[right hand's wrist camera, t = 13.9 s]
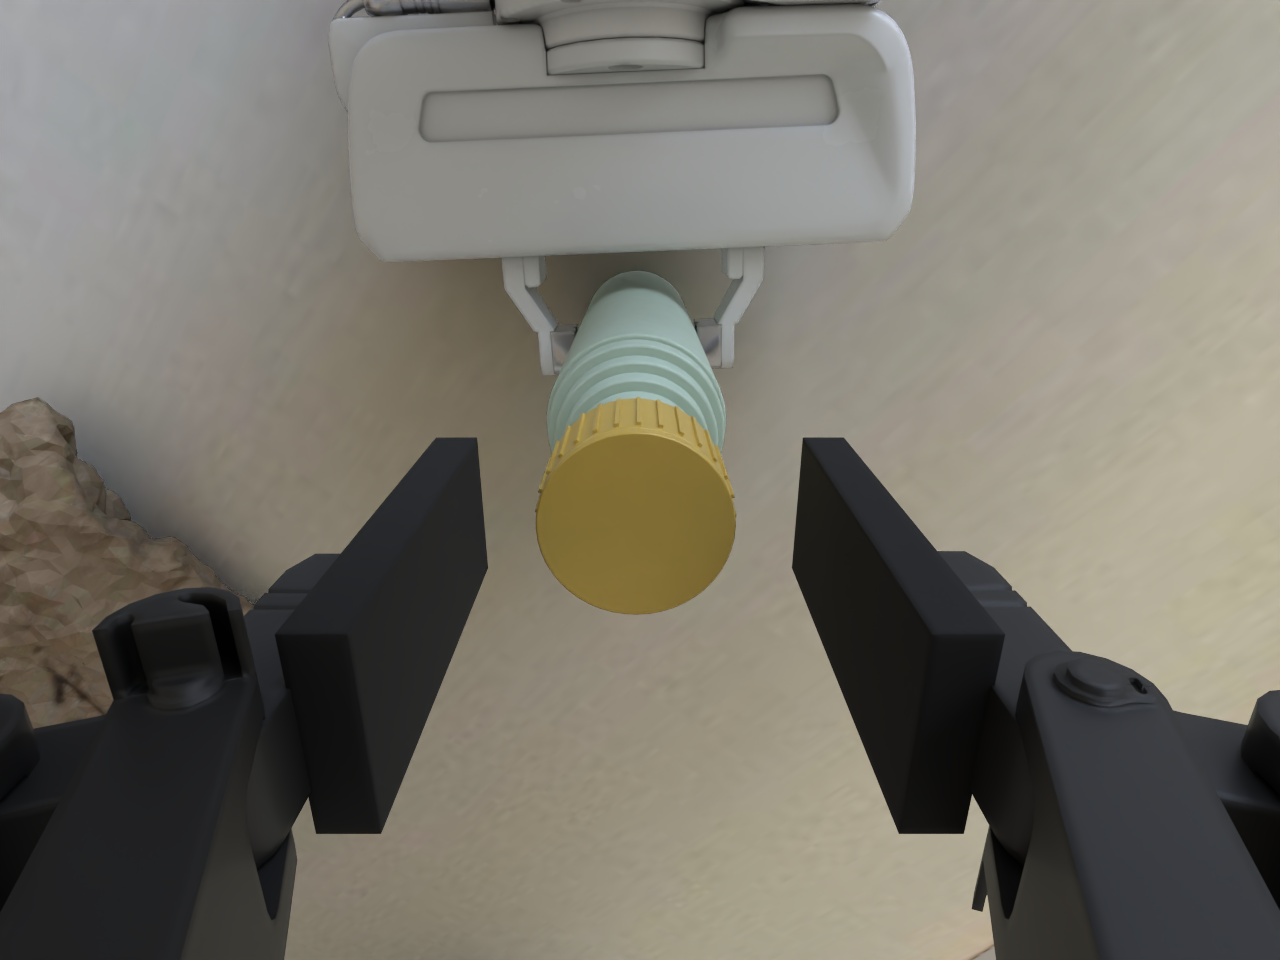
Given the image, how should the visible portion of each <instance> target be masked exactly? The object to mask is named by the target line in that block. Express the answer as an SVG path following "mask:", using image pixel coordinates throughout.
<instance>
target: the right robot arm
mask: <svg viewBox="0 0 1280 960" xmlns="http://www.w3.org/2000/svg"><path fill="white" fill-rule="evenodd" d="M487 569H488V563H487V551H486V539H485V527H484V515H483V504H482V492H481V480H480V468H479V456H478V444H477V438H436V439H435V440H434V441H433V442H432V444H431V445H430V446H429V447H428V448H427V450H426V451H425V452H424V453H423V454H422V456H421V457H420V458H419V459H418V461H417V462H416V463H415V464H414V465H413V467H412V468H411V469H410V470H409V471H408V473H407V474H406V475H405V476H404V478H403V479H402V480H401V481H400V482H399V484H398V485H397V486H396V487H395V488H394V490H393V491H392V492H391V493H390V495H389V496H388V497H387V498H386V499H385V501H384V502H383V503H382V504H381V506H380V507H379V508H378V509H377V510H376V512H375V513H374V514H373V515H372V516H371V518H370V519H369V520H368V521H367V523H366V524H365V525H364V526H363V527H362V529H361V530H360V531H359V532H358V533H357V535H356V536H355V537H354V538H353V540H352V541H351V542H350V543H349V544H348V546H347V547H346V548H345V549H344V551H343V552H342V553H341V554H314V555H313V556H311V557H309V558H307V559H306V560H304V561H302V562H300V563H299V564H297V565H295V566H293V567H291V568H290V569H288V570H286V571H285V572H284V574H283V575H282V576H281V577H280V578H279V579H278V580H277V581H276V582H275V583H274V584H273V585H272V586H271V588H270V589H269V593H265V594H264V595H263V596H262V597H261V598H260V599H259V600H258V602H257V603H256V604H255V605H254V609H253V610H249V611H248V612H247V613H246V614H245V615H243V611H242V606H241V602H240V598H239V597H238V596H236V595H235V594H233V593H232V592H230V591H229V590H224V589H218V588H212V587H200V588H183V589H178V590H174V591H169V592H164V593H159V594H155V595H153V596H150V597H147V598H144V599H141V600H139V601H136V602H133V603H130V604H128V605H126V606H125V607H123V608H121V609H119V610H117V611H116V612H114V613H112V614H110V615H108V616H107V617H106V618H104V619H103V620H102V621H101V622H100V623H99V624H98V625H97V626H96V627H95V628H94V629H93V630H92V633H93V636H94V639H95V642H96V645H97V649H98V652H99V655H100V658H101V661H102V665H103V668H104V671H105V674H106V677H107V681H108V684H109V687H110V690H111V693H112V697H113V702H112V704H111V706H110V708H109V709H108V711H107V713H106V714H105V715H101V716H97V717H91V718H86V719H81V720H76V721H71V722H65V723H60V724H55V725H50V726H45V727H39V728H34V729H33V726H32V724H31V721H30V718H29V716H28V713H27V710H26V707H25V705H24V702H22V701H21V700H19V699H18V698H16V697H15V696H13V695H11V694H0V960H284V956H285V949H286V941H287V933H288V926H289V918H290V911H291V903H292V896H293V888H294V880H295V873H296V865H297V855H296V849H295V843H294V838H293V834H292V829H291V827H292V826H293V824H294V822H295V820H296V818H297V816H298V815H299V813H300V811H301V809H302V807H303V805H304V804H305V802H306V800H307V798H308V797H309V801H310V806H311V811H312V816H313V821H314V825H315V830H316V834H381V832H382V830H383V827H384V825H385V822H386V820H387V817H388V815H389V812H390V810H391V808H392V805H393V803H394V800H395V798H396V795H397V793H398V790H399V788H400V785H401V783H402V780H403V778H404V775H405V773H406V770H407V768H408V765H409V763H410V760H411V758H412V755H413V753H414V750H415V748H416V745H417V743H418V740H419V738H420V735H421V733H422V730H423V728H424V726H425V723H426V721H427V718H428V716H429V713H430V711H431V708H432V706H433V703H434V701H435V698H436V696H437V693H438V691H439V688H440V686H441V683H442V681H443V678H444V676H445V673H446V671H447V668H448V666H449V663H450V661H451V658H452V656H453V653H454V651H455V648H456V646H457V644H458V641H459V639H460V636H461V634H462V631H463V629H464V626H465V624H466V621H467V619H468V616H469V614H470V611H471V609H472V606H473V604H474V601H475V599H476V596H477V594H478V591H479V589H480V586H481V584H482V581H483V579H484V576H485V574H486V571H487ZM792 569H793V571H794V574H795V576H796V579H797V581H798V584H799V586H800V589H801V591H802V594H803V596H804V599H805V601H806V604H807V606H808V609H809V611H810V614H811V616H812V619H813V621H814V624H815V626H816V629H817V631H818V634H819V636H820V639H821V641H822V644H823V646H824V648H825V651H826V653H827V656H828V658H829V661H830V663H831V666H832V668H833V671H834V673H835V676H836V678H837V681H838V683H839V686H840V688H841V691H842V693H843V696H844V698H845V701H846V703H847V706H848V708H849V711H850V713H851V716H852V718H853V721H854V723H855V726H856V728H857V730H858V733H859V735H860V738H861V740H862V743H863V745H864V748H865V750H866V753H867V755H868V758H869V760H870V763H871V765H872V768H873V770H874V773H875V775H876V778H877V780H878V783H879V785H880V788H881V790H882V793H883V795H884V798H885V800H886V803H887V805H888V808H889V810H890V813H891V815H892V817H893V820H894V822H895V825H896V827H897V830H898V832H899V834H964V830H965V825H966V821H967V816H968V811H969V806H970V801H971V797H972V794H973V796H974V798H975V800H976V802H977V803H978V805H979V807H980V809H981V811H982V812H983V814H984V816H985V818H986V820H987V822H988V823H989V829H988V834H987V838H986V843H985V847H984V852H983V856H982V861H981V865H980V870H979V874H978V878H977V883H976V887H975V892H974V898H973V904H972V909H974V910H978V911H983V907H984V903H985V898H986V895H988V901H989V909H990V916H991V924H992V931H993V939H994V947H995V954H996V960H1280V690H1276V691H1269V692H1267V693H1266V694H1264V695H1263V696H1261V697H1260V698H1258V699H1257V702H1256V705H1255V707H1254V710H1253V713H1252V716H1251V718H1250V721H1249V724H1248V725H1243V724H1238V723H1233V722H1228V721H1222V720H1217V719H1212V718H1207V717H1202V716H1196V715H1191V714H1186V713H1181V712H1177V711H1173V710H1172V708H1171V706H1170V704H1169V702H1168V701H1167V699H1166V698H1165V697H1164V695H1163V694H1162V693H1161V692H1160V691H1159V690H1158V688H1157V687H1156V686H1155V685H1154V684H1153V683H1152V682H1150V681H1149V680H1147V679H1146V678H1144V677H1143V676H1141V675H1140V674H1138V673H1137V672H1135V671H1134V670H1132V669H1130V668H1127V667H1125V666H1123V665H1120V664H1118V663H1116V662H1113V661H1111V660H1109V659H1106V658H1102V657H1098V656H1094V655H1090V654H1086V653H1082V652H1072V650H1071V649H1070V648H1069V647H1068V646H1067V645H1066V644H1065V643H1064V642H1063V641H1062V640H1061V639H1060V638H1059V637H1058V636H1057V634H1056V633H1055V632H1054V631H1053V630H1052V629H1051V628H1050V627H1049V626H1048V625H1047V624H1046V623H1045V622H1044V621H1043V619H1042V618H1041V617H1040V616H1039V615H1038V614H1037V613H1036V612H1035V611H1034V610H1033V609H1032V608H1031V607H1027V602H1026V601H1025V600H1024V599H1023V598H1022V597H1021V596H1020V595H1019V594H1018V593H1017V592H1016V591H1012V586H1011V585H1010V584H1009V583H1008V582H1007V581H1006V580H1005V579H1004V578H1003V577H1002V576H1001V575H1000V574H999V573H998V571H997V570H996V569H995V568H994V567H992V566H990V565H988V564H986V563H985V562H983V561H981V560H979V559H978V558H976V557H974V556H972V555H970V554H969V553H967V552H965V551H936V549H935V548H934V547H933V546H932V544H931V543H930V542H929V541H928V540H927V538H926V537H925V536H924V535H923V533H922V532H921V531H920V530H919V529H918V527H917V526H916V525H915V524H914V523H913V521H912V520H911V519H910V518H909V516H908V515H907V514H906V513H905V512H904V510H903V509H902V508H901V507H900V506H899V504H898V503H897V502H896V501H895V499H894V498H893V497H892V496H891V495H890V493H889V492H888V491H887V490H886V488H885V487H884V486H883V485H882V484H881V482H880V481H879V480H878V479H877V478H876V476H875V475H874V474H873V473H872V471H871V470H870V469H869V468H868V467H867V465H866V464H865V463H864V462H863V461H862V459H861V458H860V457H859V456H858V454H857V453H856V452H855V451H854V450H853V448H852V447H851V446H850V445H849V444H848V442H847V441H846V440H845V439H844V438H803V444H802V456H801V468H800V480H799V492H798V504H797V515H796V527H795V539H794V551H793V563H792Z"/></svg>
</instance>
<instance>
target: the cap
mask: <svg viewBox="0 0 1280 960" xmlns="http://www.w3.org/2000/svg"><path fill="white" fill-rule="evenodd" d="M538 493H540V497H539V500H538V503H537V506H536V510H535V512H537V513H536V533H537V540H538V544H539V547H540V551H541V553H542V556H543V558H544V560H545V562H546V564H547V566H548V567H549V569H550V571H551V572H552V574H553V575H554V576H555V577H556V578H557V580H558V581H559V582H560V583H561V584H562V585H563V586H564V587H565V588H566V589H567V590H568V591H570V592H571V593H572V594H574V595H575V596H576V597H578V598H579V599H581V600H583V601H585V602H587V603H588V604H591V605H593V606H595V607H598V608H600V609H604V610H607V611H611V612H616V613H622V614H650V613H656V612H661V611H665V610H668V609H671V608H674V607H676V606H679V605H681V604H683V603H685V602H687V601H689V600H690V599H692V598H694V597H695V596H697V595H698V594H699V593H700V592H702V591H703V590H704V589H705V588H706V587H707V586H708V585H709V584H710V583H712V582H713V580H714V579H715V578H716V577H717V575H718V574H719V573H720V571H721V570H722V568H723V566H724V565H725V563H726V561H727V559H728V557H729V554H730V552H731V549H732V546H733V542H734V537H735V528H736V520H735V518H736V512H735V509H734V504H733V500H732V498H735V497H734V493H733V490H732V487H731V484H730V481H729V477H728V474H727V471H726V468H725V465H724V462H723V460H722V457H721V454H720V450H719V448H718V445H716V446H714V444H713V442H712V440H711V437H710V434H709V431H708V430H707V429H706V430H704V429H703V428H702V427H701V426H700V424H699V423H698V422H697V421H696V418H695V417H694V416H692V417H691V416H689V415H688V414H686V413H685V412H683V411H682V410H680V409H679V407H678V406H675V407H674V406H671V405H669V404H666V403H663V402H661V400H659V399H657V400H650V399H641V397H637V398H631V399H621V398H618V399H616V401H612V402H609V403H606V404H603V405H602V404H598V405H597V407H596V408H594V409H592V410H590V411H589V412H587V413H586V414H584V413H582V414H581V415H580V418H579V419H578V420H577V421H575V422H574V423H573V424H572V425H571V426H569V425H568V426H567V427H566V430H565V433H564V435H563V437H562V438H561V440H560V441H558V440H557V441H556V443H555V446H554V449H553V452H552V455H551V458H549V461H548V464H547V467H546V470H545V473H544V476H543V479H542V482H541V485H540V488H539V491H538Z"/></svg>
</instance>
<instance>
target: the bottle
mask: <svg viewBox="0 0 1280 960" xmlns="http://www.w3.org/2000/svg"><path fill="white" fill-rule="evenodd" d="M637 397H641V399H650V400H657V399H659V400H661V402H663V403H666V404H669V405H671V406H674V407H675V406H678V407H679V409H680V410H682V411H683V412H685V413H686V414H688V415H689V416H691V417H692V416H694V417H695V418H696V421H697V422H698V423H699V424H700V426H701V427H702V428H703V429H704V430H706V429H707V430H708V431H709V434H710V437H711V440H712V442H713V444H714V446H716V445H718V448H719V450H720V454H721V451H722V447H723V443H724V436H725V428H726V410H725V404H724V399H723V396H722V393H721V390H720V387H719V385H718V383H717V380H716V378H715V376H714V373H713V371H712V368H711V366H710V364H709V361H708V359H707V357H706V354H705V352H704V350H703V347H702V345H701V343H700V340H699V338H698V336H697V333H696V331H695V329H694V326H693V324H692V322H691V319H690V317H689V315H688V312H687V310H686V308H685V305H684V303H683V301H682V299H681V297H680V295H679V294H678V292H677V291H676V289H675V288H674V287H673V286H672V285H671V284H670V283H669V282H668V281H666V280H665V279H663V278H662V277H660V276H658V275H655V274H653V273H650V272H644V271H629V272H624V273H621V274H618V275H616V276H614V277H612V278H610V279H609V280H607V281H606V282H605V283H604V284H603V285H602V286H600V288H599V289H598V290H597V291H596V293H595V294H594V296H593V298H592V300H591V302H590V304H589V307H588V309H587V311H586V313H585V316H584V318H583V320H582V323H581V325H580V327H579V329H578V332H577V334H576V336H575V338H574V341H573V343H572V345H571V348H570V350H569V352H568V354H567V357H566V359H565V361H564V364H563V366H562V368H561V370H560V373H559V375H558V377H557V380H556V382H555V384H554V386H553V389H552V391H551V394H550V398H549V401H548V407H547V432H548V438H549V445H550V449H551V453H552V452H553V449H554V446H555V443H556V441H557V440H558V441H560V440H561V438H562V437H563V435H564V433H565V430H566V427H567V426H568V425H569V426H571V425H572V424H573V423H574V422H575V421H577V420H578V419H579V418H580V415H581V414H582V413H584V414H586V413H587V412H589V411H590V410H592V409H594V408H596V407H597V405H598V404H602V405H603V404H606V403H609V402H612V401H616V399H618V398H621V399H631V398H637Z"/></svg>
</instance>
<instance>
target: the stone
mask: <svg viewBox="0 0 1280 960" xmlns="http://www.w3.org/2000/svg"><path fill="white" fill-rule="evenodd" d="M130 519H131V517H130V515H129V513H128V511H127V509H126V507H125V505H124V503H123V501H122V500H121V499H120V497H118V496H117V495H116V494H115V493H114V492H113V491H110V490H108V489H105V485H104V482H103V479H101V478H100V477H99V475H98V473H97V471H96V469H95V468H94V466H92V465H89V464H87V463H85V462H83V461H81V460H79V459H78V458H77V450H76V443H75V435H74V426H73V423H72V421H71V420H69V419H68V418H66V417H64V416H63V415H61V414H60V413H58V412H56V411H55V410H54V409H53V408H52V407H51V406H50V405H49V404H48V403H46V402H44V401H43V400H41V399H40V398H34V399H30V400H26V401H22V402H18V403H15V404H12V405H11V406H9V407H8V408H7V409H5V410H4V411H3V412H1V413H0V694H11V695H13V696H15V697H16V698H18V699H19V700H21V701H22V702H24V705H25V707H26V710H27V713H28V716H29V718H30V721H31V724H32V726H33V729H34V728H39V727H45V726H50V725H55V724H60V723H65V722H71V721H76V720H81V719H86V718H91V717H97V716H101V715H105V714H106V713H107V711H108V709H109V708H110V706H111V704H112V702H113V697H112V693H111V690H110V687H109V684H108V681H107V677H106V674H105V671H104V668H103V665H102V661H101V658H100V655H99V652H98V649H97V645H96V642H95V639H94V636H93V633H92V630H93V629H94V628H95V627H96V626H97V625H98V624H99V623H100V622H101V621H102V620H103V619H104V618H106V617H107V616H108V615H110V614H112V613H114V612H116V611H117V610H119V609H121V608H123V607H125V606H126V605H128V604H130V603H133V602H136V601H139V600H141V599H144V598H147V597H150V596H153V595H155V594H159V593H164V592H169V591H174V590H178V589H183V588H200V587H212V588H218V589H224V590H229V591H230V592H232V591H231V590H230V589H228V588H227V587H226V586H225V585H223V584H222V583H221V582H220V580H219V579H218V578H217V577H216V575H215V573H214V571H213V569H211V568H209V567H208V566H206V565H204V564H203V563H202V562H201V561H200V560H199V559H197V558H196V557H195V556H194V555H193V554H192V553H191V552H190V551H189V549H188V547H187V546H186V545H185V544H183V543H182V542H180V541H179V540H177V539H176V538H173V537H171V536H170V537H165V538H160V539H150V537H149V536H148V535H147V533H146V532H145V530H144V529H143V528H142V527H140V526H139V525H138V524H136V523H134V522H131V521H130ZM232 593H233V592H232ZM233 594H235V593H233ZM235 595H236V596H238V597H239V598H240V602H241V606H242V611H243V615H245V614H246V613H247V612H248V611H249V610H253V609H254V605H253V604H250V603H249V602H248V600H247V599H246V598H245V597H243V596H240V595H237V594H235Z"/></svg>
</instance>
